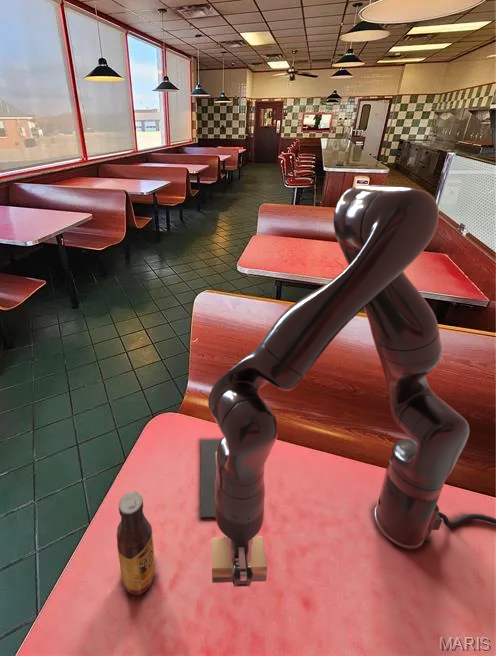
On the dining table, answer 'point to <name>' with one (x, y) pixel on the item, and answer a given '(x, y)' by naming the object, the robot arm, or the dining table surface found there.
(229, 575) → the eraser
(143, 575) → the sauce bottle
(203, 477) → the slate board
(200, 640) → the dining table surface
